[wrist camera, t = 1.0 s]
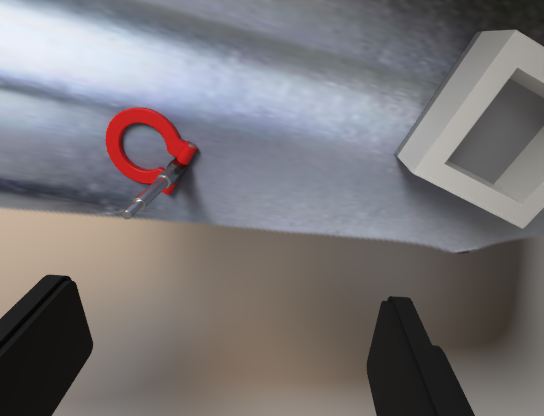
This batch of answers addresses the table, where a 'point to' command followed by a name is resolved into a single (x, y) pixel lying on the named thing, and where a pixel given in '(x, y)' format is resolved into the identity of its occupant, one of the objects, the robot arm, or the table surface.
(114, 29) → the table surface
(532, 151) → the well
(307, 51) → the table surface
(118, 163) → the tow hook
